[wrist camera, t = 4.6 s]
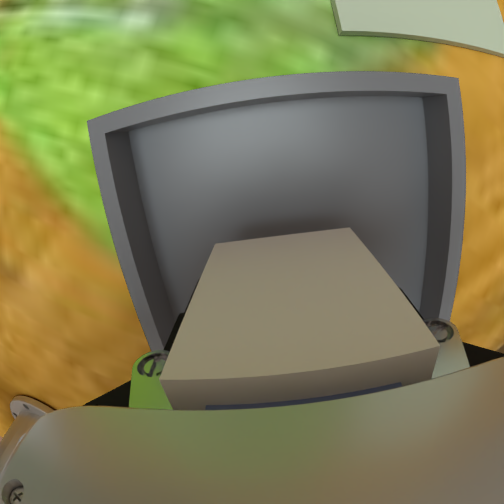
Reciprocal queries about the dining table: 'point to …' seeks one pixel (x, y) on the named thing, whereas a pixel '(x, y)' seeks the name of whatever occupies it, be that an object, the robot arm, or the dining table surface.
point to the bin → (285, 179)
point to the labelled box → (294, 327)
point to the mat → (425, 21)
